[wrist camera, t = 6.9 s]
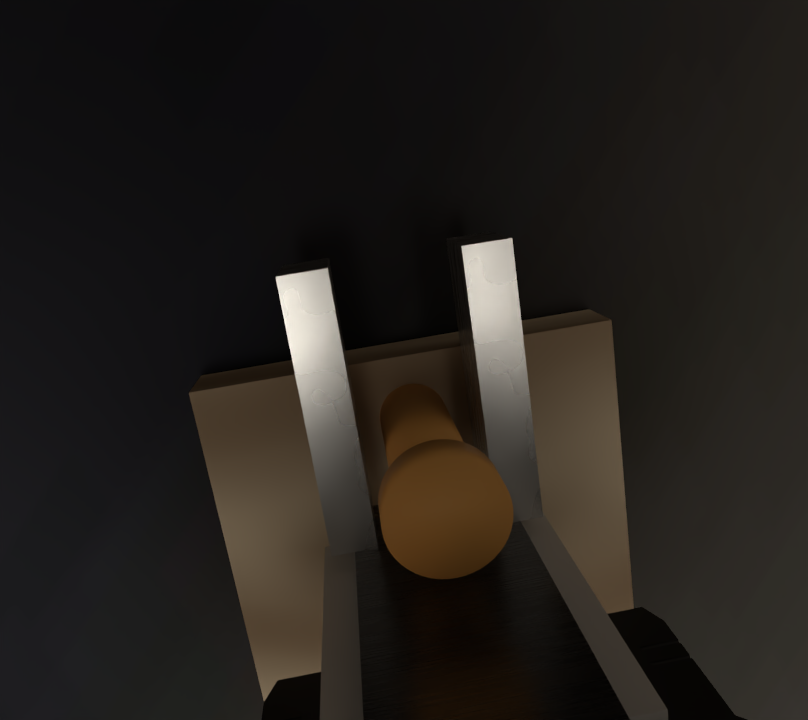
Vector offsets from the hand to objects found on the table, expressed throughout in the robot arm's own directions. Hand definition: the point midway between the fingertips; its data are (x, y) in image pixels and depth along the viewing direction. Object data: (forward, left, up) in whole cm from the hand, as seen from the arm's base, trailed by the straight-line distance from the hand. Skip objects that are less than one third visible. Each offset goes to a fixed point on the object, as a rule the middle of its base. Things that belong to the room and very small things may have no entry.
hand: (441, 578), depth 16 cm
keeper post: (-4, 0, -1) cm, 4 cm away
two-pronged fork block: (+2, 0, -1) cm, 2 cm away
